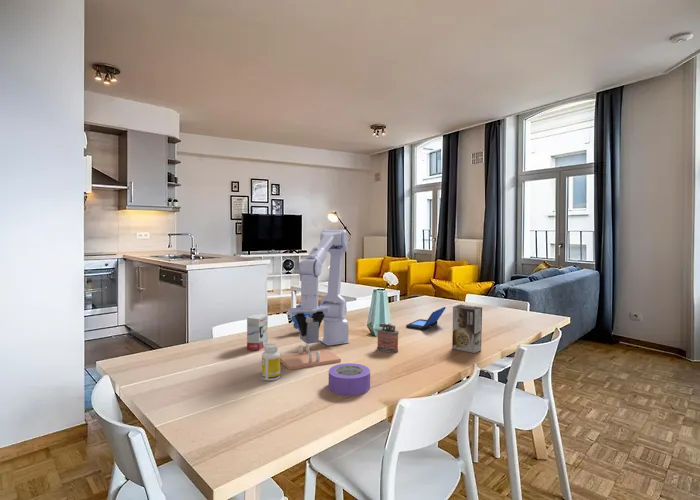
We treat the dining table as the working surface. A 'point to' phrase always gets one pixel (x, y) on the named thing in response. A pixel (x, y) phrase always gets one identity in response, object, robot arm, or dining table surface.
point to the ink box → (257, 331)
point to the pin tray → (308, 358)
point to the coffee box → (467, 328)
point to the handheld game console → (426, 321)
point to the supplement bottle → (270, 362)
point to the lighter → (387, 338)
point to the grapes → (296, 320)
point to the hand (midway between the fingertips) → (309, 334)
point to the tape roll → (349, 379)
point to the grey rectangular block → (311, 331)
